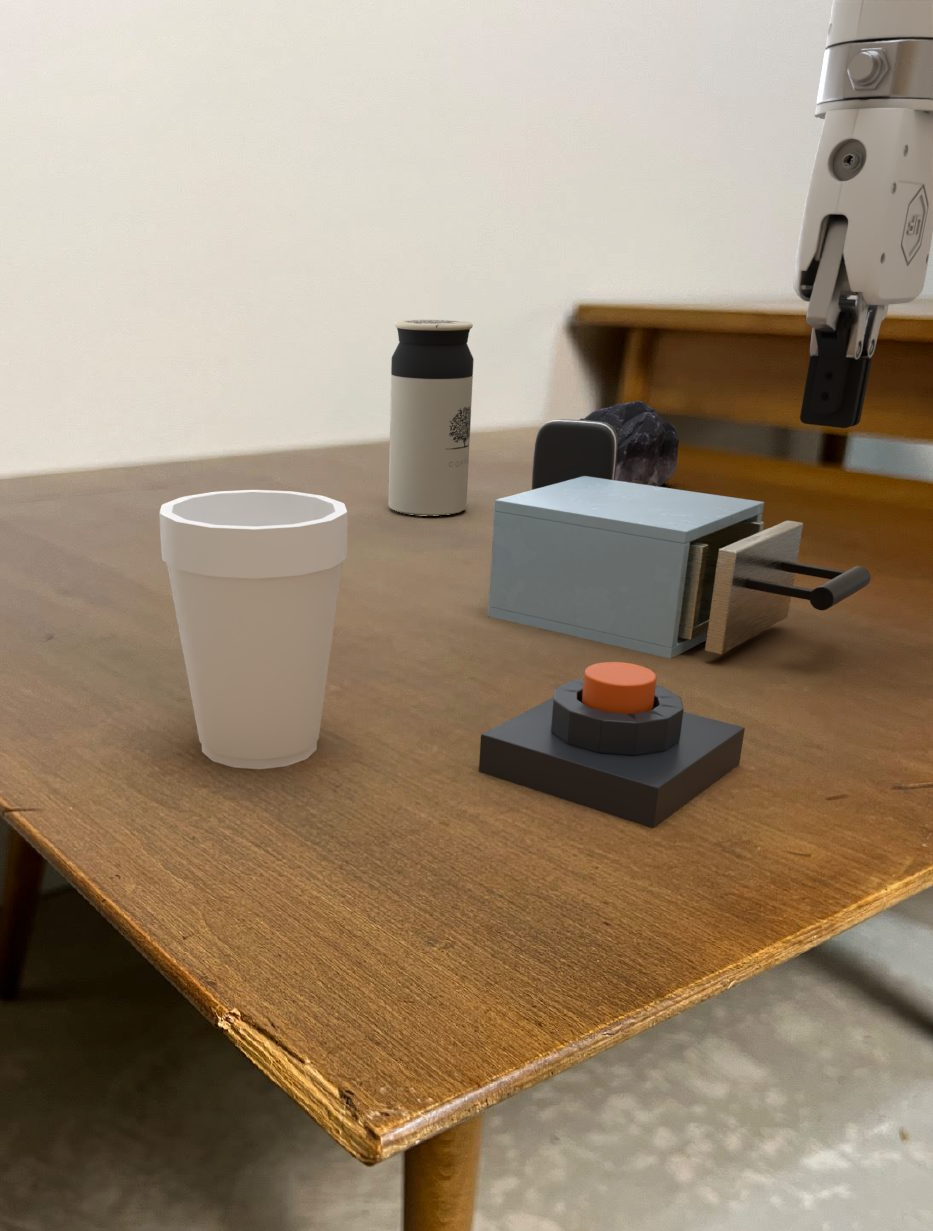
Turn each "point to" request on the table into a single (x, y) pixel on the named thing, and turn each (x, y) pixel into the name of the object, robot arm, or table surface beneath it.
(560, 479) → the battery charger
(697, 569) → the metal drawer
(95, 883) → the table surface
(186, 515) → the foam cup
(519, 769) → the control block
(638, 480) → the crystal cluster
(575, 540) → the light blue drawer box
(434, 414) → the travel mug
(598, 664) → the button
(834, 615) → the table surface
